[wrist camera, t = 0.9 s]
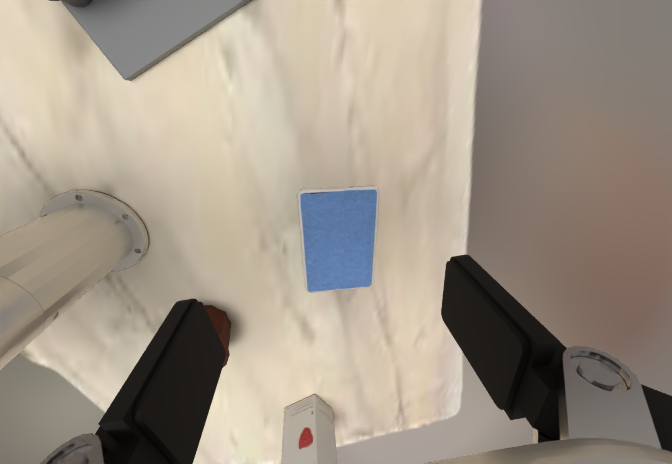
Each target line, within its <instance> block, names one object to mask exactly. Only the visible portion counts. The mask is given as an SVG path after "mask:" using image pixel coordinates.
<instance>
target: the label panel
mask: <svg viewBox="0 0 672 464" xmlns="http://www.w3.org/2000/svg"><path fill="white" fill-rule="evenodd" d="M249 1H251V0H61V2H62V3H63V4H64V5H65V7H66V8H67V9H68V10H69V11H70V13H71V14H72V15H73V16H74V18H75V19H76V20H77V21H78V23H79V24H80V25H81V26H82V28H83V29H84V30H85V31H86V33H87V34H88V35H89V36H90V38H91V39H92V40H93V41H94V43H95V44H96V45H97V46H98V47H99V49H100V50H101V51H102V52H103V54H104V55H105V56H106V57H107V59H108V60H109V61H110V62H111V64H112V65H113V66H114V67H115V69H116V70H117V71H118V72H119V74H120V75H121V76H122V77H123V79H124V80H130V81H131V80H132V79H134V78H135V77H137V76H138V75H140V74H141V73H143V72H144V71H146V70H147V69H149V68H150V67H152V66H153V65H155V64H156V63H158V62H159V61H161V60H162V59H164V58H165V57H167V56H168V55H170V54H171V53H173V52H174V51H176V50H177V49H179V48H180V47H182V46H183V45H185V44H186V43H188V42H189V41H191V40H192V39H194V38H195V37H197V36H198V35H200V34H201V33H203V32H204V31H206V30H207V29H209V28H210V27H212V26H213V25H215V24H216V23H218V22H219V21H221V20H222V19H224V18H225V17H227V16H228V15H230V14H231V13H233V12H234V11H236V10H237V9H239V8H240V7H242V6H243V5H245V4H246V3H248V2H249Z"/></svg>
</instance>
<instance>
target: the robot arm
mask: <svg viewBox="0 0 672 464" xmlns="http://www.w3.org/2000/svg"><path fill="white" fill-rule="evenodd" d="M147 247H148V235H147V231H146V228H145V226H144V224H143V223H142V221H141V220H140V218H139V217H138V216H137V215H136V214H135V213H134V211H133V210H131V209H130V208H129V207H128V206H126V205H125V204H124V203H122V202H120V201H119V200H117V199H115V198H113V197H111V196H108V195H106V194H103V193H99V192H95V191H88V190H74V191H69V192H65V193H63V194H60V195H58V196H55V197H54V198H52V199H51V200H49V201H48V202H47V204H46V205H45V206H44V208H43V210H42V212H41V218H39V219H37V220H35V221H33V222H31V223H28V224H26V225H24V226H22V227H19V228H17V229H15V230H13V231H10V232H8V233H6V234H4V235H2V236H0V370H1V369H2V368H3V367H4V366H5V365H6V364H7V363H8V362H9V361H10V360H11V359H12V358H14V357H15V356H16V355H17V354H18V353H19V352H20V351H21V350H22V349H23V348H25V347H26V346H27V345H28V344H29V343H30V342H31V341H32V340H34V339H35V338H36V337H37V336H38V335H39V334H40V333H42V332H43V331H44V330H45V329H46V328H47V327H48V326H49V325H50V324H52V323H53V322H54V321H55V320H56V319H57V318H58V317H59V316H61V315H62V314H63V313H64V312H65V311H66V310H67V309H68V308H70V307H71V306H72V305H73V304H74V303H75V302H76V301H77V300H79V299H80V298H81V297H82V296H83V295H84V294H85V293H86V292H87V291H89V290H90V289H91V288H92V287H93V286H94V285H95V284H96V283H98V282H99V281H100V280H101V279H102V278H103V277H104V276H105V275H107V274H108V273H109V272H110V271H119V270H123V269H126V268H129V267H131V266H133V265H134V264H136V263H137V262H138V261H139V260H140V259H141V258H142V257H143V256H144V254H145V252H146V250H147ZM441 315H442V319H443V321H444V323H445V324H446V326H447V327H448V329H449V331H450V332H451V334H452V335H453V337H454V339H455V340H456V342H457V343H458V345H459V347H460V348H461V350H462V352H463V353H464V355H465V356H466V358H467V359H468V361H469V363H470V364H471V366H472V367H473V369H474V371H475V372H476V374H477V376H478V377H479V379H480V380H481V382H482V384H483V385H484V387H485V388H486V390H487V391H488V393H489V395H490V396H491V398H492V399H493V401H494V403H495V404H496V405H497V407H498V408H499V409H501V410H504V411H505V412H506V414H507V415H508V417H509V418H510V420H514V419H520V418H525V417H526V419H527V420H528V421H529V423H530V425H531V426H532V427H533V444H530V445H524V446H518V447H512V448H506V449H500V450H493V451H488V452H483V453H477V454H472V455H467V456H461V457H456V458H451V459H445V460H440V461H435V462H429V463H425V464H672V396H670V395H667V394H665V393H662V392H659V391H657V390H654V389H652V388H649V387H647V386H644V385H641V384H640V382H639V380H638V378H637V376H636V375H635V374H634V373H633V372H632V371H631V370H630V369H629V367H627V366H626V365H625V364H624V363H622V362H621V361H620V360H618V359H617V358H615V357H613V356H611V355H609V354H607V353H606V352H603V351H600V350H598V349H595V348H591V347H587V346H573V347H569V348H566V347H565V346H564V345H562V343H560V341H559V340H558V339H557V338H556V337H554V336H553V335H552V334H551V333H550V332H549V331H548V330H547V329H546V328H545V327H544V326H543V325H542V324H541V323H540V322H539V321H538V320H537V319H536V318H535V317H533V316H532V315H531V314H530V313H529V312H528V311H527V310H526V309H525V308H524V307H523V306H522V305H521V304H520V303H519V302H518V301H517V300H516V299H514V297H512V296H511V295H510V294H509V293H508V292H507V291H506V290H505V289H504V288H503V287H502V286H501V285H500V284H499V283H498V282H497V281H496V280H494V279H493V278H492V277H491V276H490V275H489V274H488V273H487V272H486V271H485V270H484V269H482V267H481V266H480V265H479V264H478V263H477V262H476V261H474V260H473V259H472V258H471V257H470V256H469V255H461V256H454V257H451V259H450V261H448V262H447V263H446V271H445V280H444V290H443V300H442V309H441ZM224 361H225V349H224V346H223V344H222V342H221V340H220V338H219V336H218V334H217V332H216V330H215V328H214V326H213V324H212V322H211V320H210V318H209V316H208V313H207V311H206V309H205V307H204V305H203V303H202V302H198V301H197V300H196V299H189V300H183V301H178V302H176V303H175V305H174V306H173V308H172V309H171V311H170V313H169V314H168V316H167V317H166V319H165V320H164V322H163V324H162V325H161V327H160V328H159V330H158V331H157V333H156V334H155V336H154V338H153V339H152V341H151V342H150V344H149V345H148V347H147V349H146V350H145V352H144V353H143V355H142V356H141V358H140V360H139V361H138V363H137V364H136V366H135V367H134V369H133V371H132V372H131V374H130V375H129V377H128V378H127V380H126V381H125V383H124V385H123V386H122V388H121V389H120V391H119V392H118V394H117V396H116V397H115V399H114V400H113V402H112V403H111V405H110V407H109V408H108V410H107V411H106V413H105V415H104V416H103V418H102V419H101V421H100V422H99V425H100V427H99V429H98V430H97V432H96V434H93V433H89V434H82V435H80V436H77V437H74V438H72V439H71V440H69V441H67V442H65V443H64V444H62V445H61V446H60V447H58V448H57V449H56V450H54V451H53V452H52V453H51V454H49V455H48V456H47V458H45V459H44V460H43V461H42V462H41V463H40V464H192V463H193V461H194V458H195V454H196V451H197V448H198V445H199V441H200V438H201V435H202V432H203V429H204V425H205V422H206V419H207V416H208V412H209V409H210V406H211V403H212V399H213V396H214V393H215V390H216V387H217V383H218V380H219V377H220V374H221V370H222V367H223V364H224Z"/></svg>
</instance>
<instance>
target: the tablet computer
mask: <svg viewBox="0 0 672 464" xmlns="http://www.w3.org/2000/svg"><path fill="white" fill-rule="evenodd" d="M297 198H298V209H299V220H300V233H301V244H302V256H303V268H304V279H305V289H306V291H307V292H310V293H313V292H323V291H334V290H344V289H355V288H366V287H370V286H372V284H373V276H374V263H375V249H376V233H377V221H378V204H379V203H378V201H379V189H378V187H376V186H365V187H363V186H354V187H334V188H311V189H301V190H300V191H299V192H298V195H297Z"/></svg>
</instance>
